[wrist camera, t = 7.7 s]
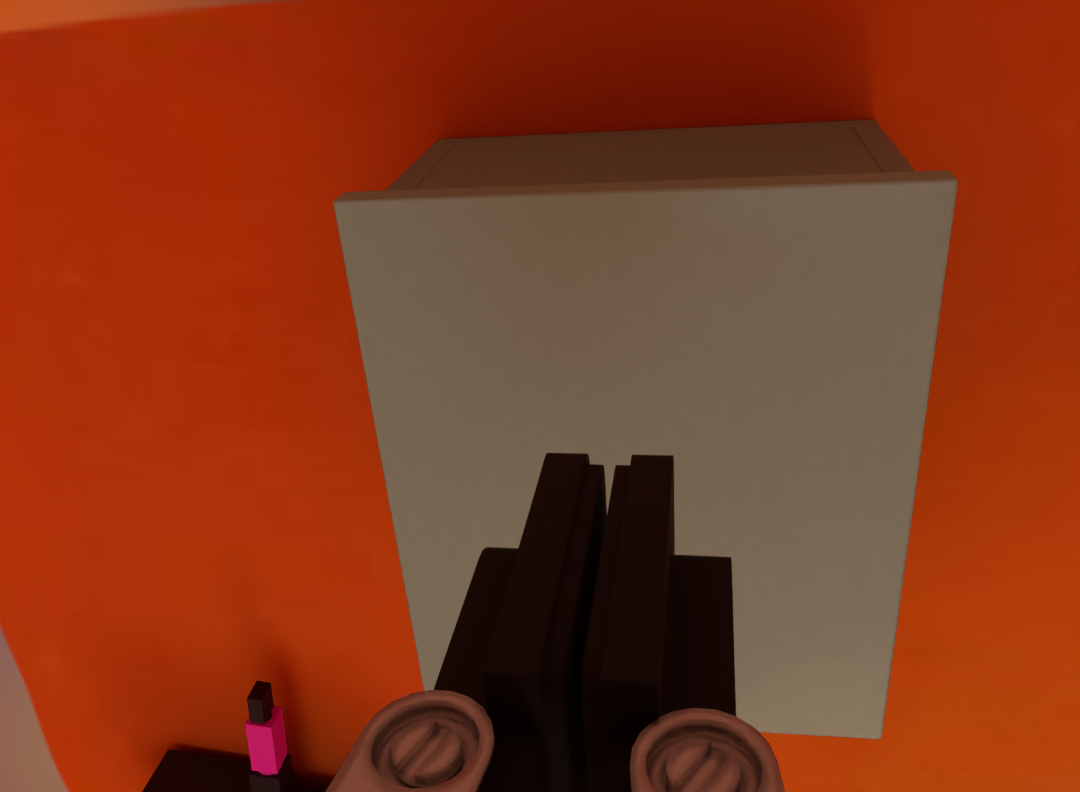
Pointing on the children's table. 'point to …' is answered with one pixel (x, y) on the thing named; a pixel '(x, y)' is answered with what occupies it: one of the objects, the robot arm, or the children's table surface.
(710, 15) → the children's table surface
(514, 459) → the lid
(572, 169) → the chest
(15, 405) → the children's table surface
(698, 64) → the children's table surface
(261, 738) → the blocky doll
